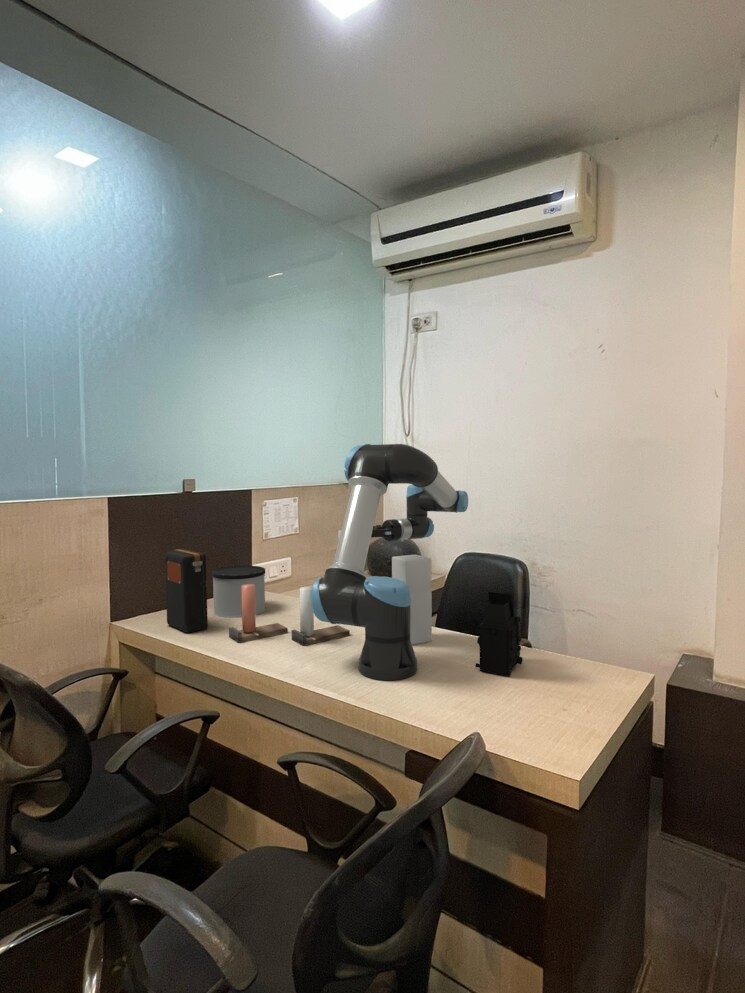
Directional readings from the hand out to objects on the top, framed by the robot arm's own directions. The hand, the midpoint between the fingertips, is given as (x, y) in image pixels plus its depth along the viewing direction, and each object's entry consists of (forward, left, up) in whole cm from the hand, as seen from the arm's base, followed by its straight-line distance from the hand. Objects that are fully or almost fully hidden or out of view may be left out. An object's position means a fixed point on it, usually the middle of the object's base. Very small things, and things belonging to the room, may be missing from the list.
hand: (339, 534), depth 179 cm
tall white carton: (-11, -24, -30) cm, 40 cm away
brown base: (-13, +23, -30) cm, 40 cm away
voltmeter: (-8, +50, -30) cm, 59 cm away
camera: (-30, -49, -30) cm, 65 cm away
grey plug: (-16, +7, -28) cm, 33 cm away
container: (+14, +41, -30) cm, 53 cm away
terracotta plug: (-15, +26, -28) cm, 41 cm away
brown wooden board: (-13, +3, -30) cm, 33 cm away
